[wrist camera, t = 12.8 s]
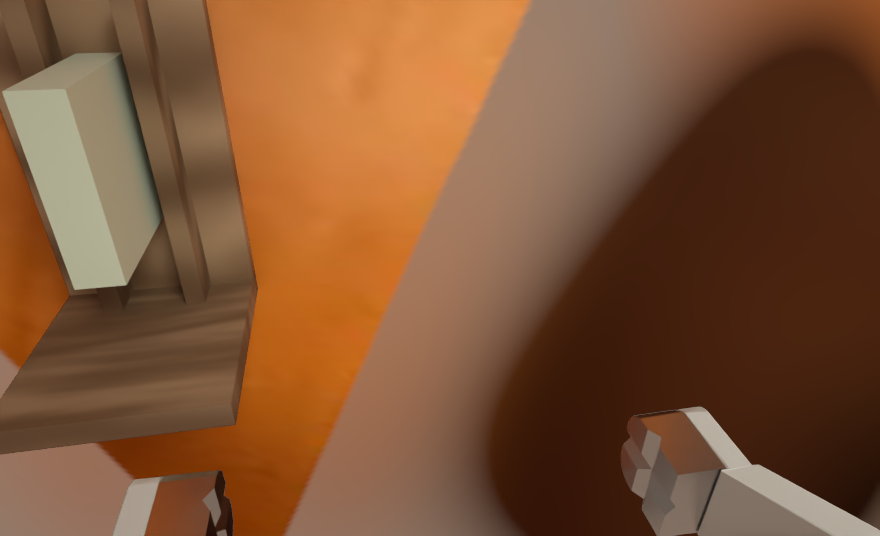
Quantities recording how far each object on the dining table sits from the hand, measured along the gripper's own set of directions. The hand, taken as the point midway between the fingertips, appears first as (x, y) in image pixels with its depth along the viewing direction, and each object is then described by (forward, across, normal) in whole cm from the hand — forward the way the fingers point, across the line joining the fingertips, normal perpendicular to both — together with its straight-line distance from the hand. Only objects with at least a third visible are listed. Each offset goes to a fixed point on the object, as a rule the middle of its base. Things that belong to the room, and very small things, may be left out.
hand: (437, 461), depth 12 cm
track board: (+30, +14, +4) cm, 34 cm away
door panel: (+29, +14, +2) cm, 33 cm away
